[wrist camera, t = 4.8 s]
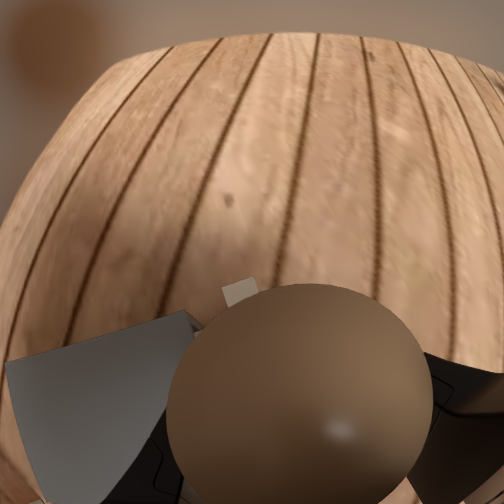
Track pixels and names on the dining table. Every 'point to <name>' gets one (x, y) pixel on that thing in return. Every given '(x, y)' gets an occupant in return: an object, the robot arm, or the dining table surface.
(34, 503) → the small box
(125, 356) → the grey drawer housing
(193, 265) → the dining table surface
